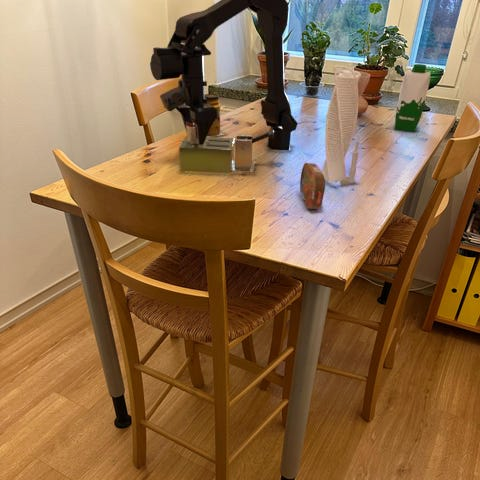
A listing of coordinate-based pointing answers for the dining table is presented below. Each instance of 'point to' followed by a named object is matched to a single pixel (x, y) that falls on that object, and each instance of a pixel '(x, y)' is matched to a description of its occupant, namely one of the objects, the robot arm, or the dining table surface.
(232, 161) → the toaster
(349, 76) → the skyscraper
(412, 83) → the milk carton
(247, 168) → the lever bracket
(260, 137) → the toaster lever
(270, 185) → the dining table surface
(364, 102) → the ceramic jug
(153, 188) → the dining table surface
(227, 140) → the toaster slots
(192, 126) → the translucent cup
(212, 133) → the condiment
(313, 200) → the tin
